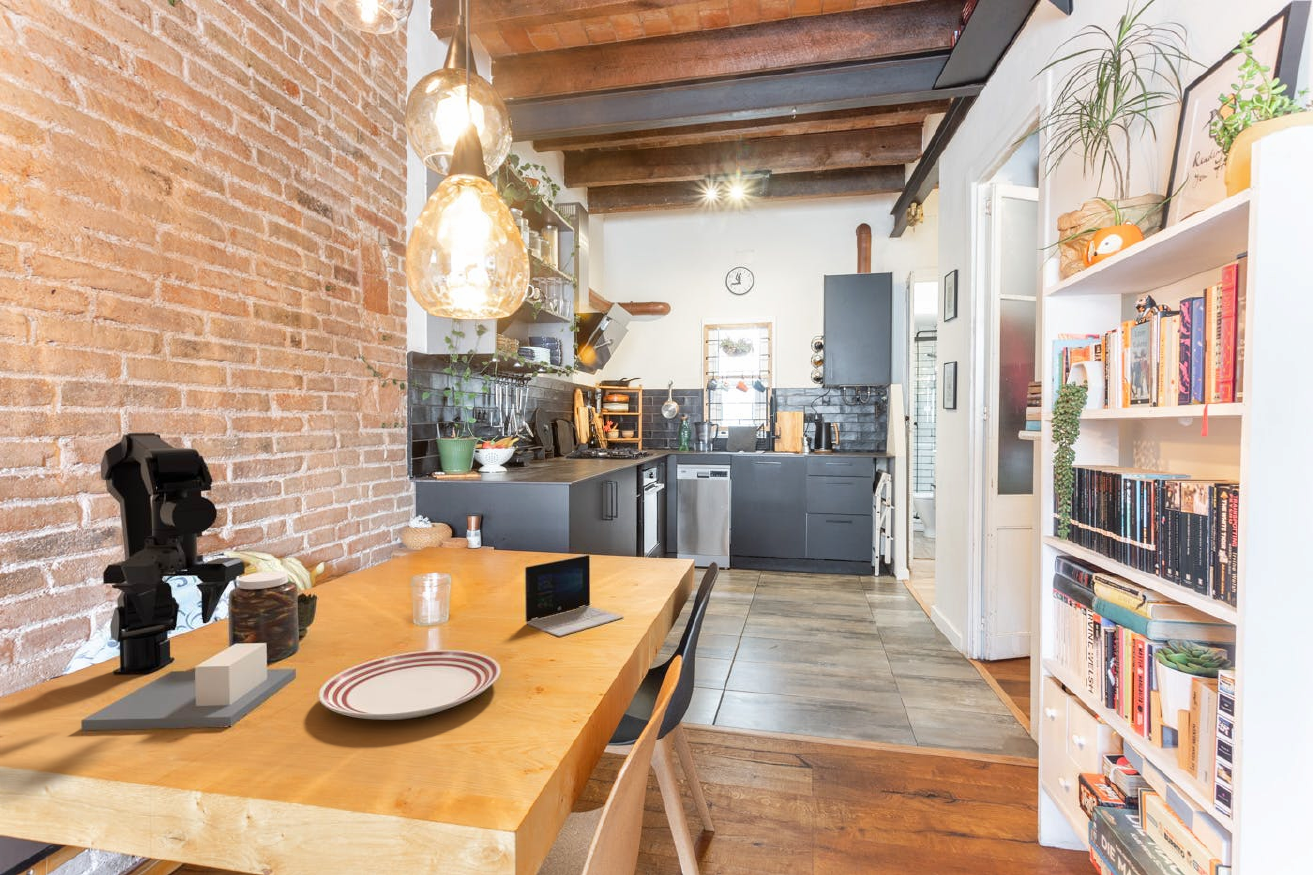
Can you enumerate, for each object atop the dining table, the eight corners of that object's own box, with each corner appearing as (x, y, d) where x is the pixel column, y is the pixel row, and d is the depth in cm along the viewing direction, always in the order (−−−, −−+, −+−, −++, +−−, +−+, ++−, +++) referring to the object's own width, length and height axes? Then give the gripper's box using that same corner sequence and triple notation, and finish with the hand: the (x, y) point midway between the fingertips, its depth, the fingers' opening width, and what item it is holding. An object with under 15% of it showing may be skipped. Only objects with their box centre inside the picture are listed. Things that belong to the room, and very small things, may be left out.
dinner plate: (331, 676, 111) (330, 657, 111) (491, 655, 121) (490, 638, 121) (305, 752, 86) (304, 728, 86) (510, 718, 95) (510, 696, 95)
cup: (286, 644, 127) (285, 605, 127) (270, 637, 131) (269, 599, 131) (324, 634, 133) (323, 596, 133) (308, 628, 137) (307, 591, 137)
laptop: (559, 639, 131) (558, 576, 130) (525, 625, 139) (524, 566, 139) (624, 619, 143) (623, 562, 143) (589, 608, 152) (588, 554, 152)
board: (81, 730, 92) (81, 720, 92) (171, 679, 110) (171, 671, 110) (230, 726, 93) (230, 716, 93) (295, 677, 111) (295, 668, 110)
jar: (314, 646, 126) (312, 571, 126) (263, 668, 115) (261, 585, 114) (266, 641, 129) (265, 567, 129) (212, 661, 118) (210, 581, 118)
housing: (195, 705, 96) (195, 666, 96) (236, 679, 106) (235, 643, 106) (229, 705, 96) (229, 665, 96) (267, 678, 106) (266, 643, 106)
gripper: (70, 536, 94) (73, 641, 94) (200, 535, 95) (202, 639, 95) (130, 524, 105) (132, 618, 105) (245, 523, 106) (247, 616, 106)
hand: (176, 623), depth 103 cm, fingers open, 9 cm apart
